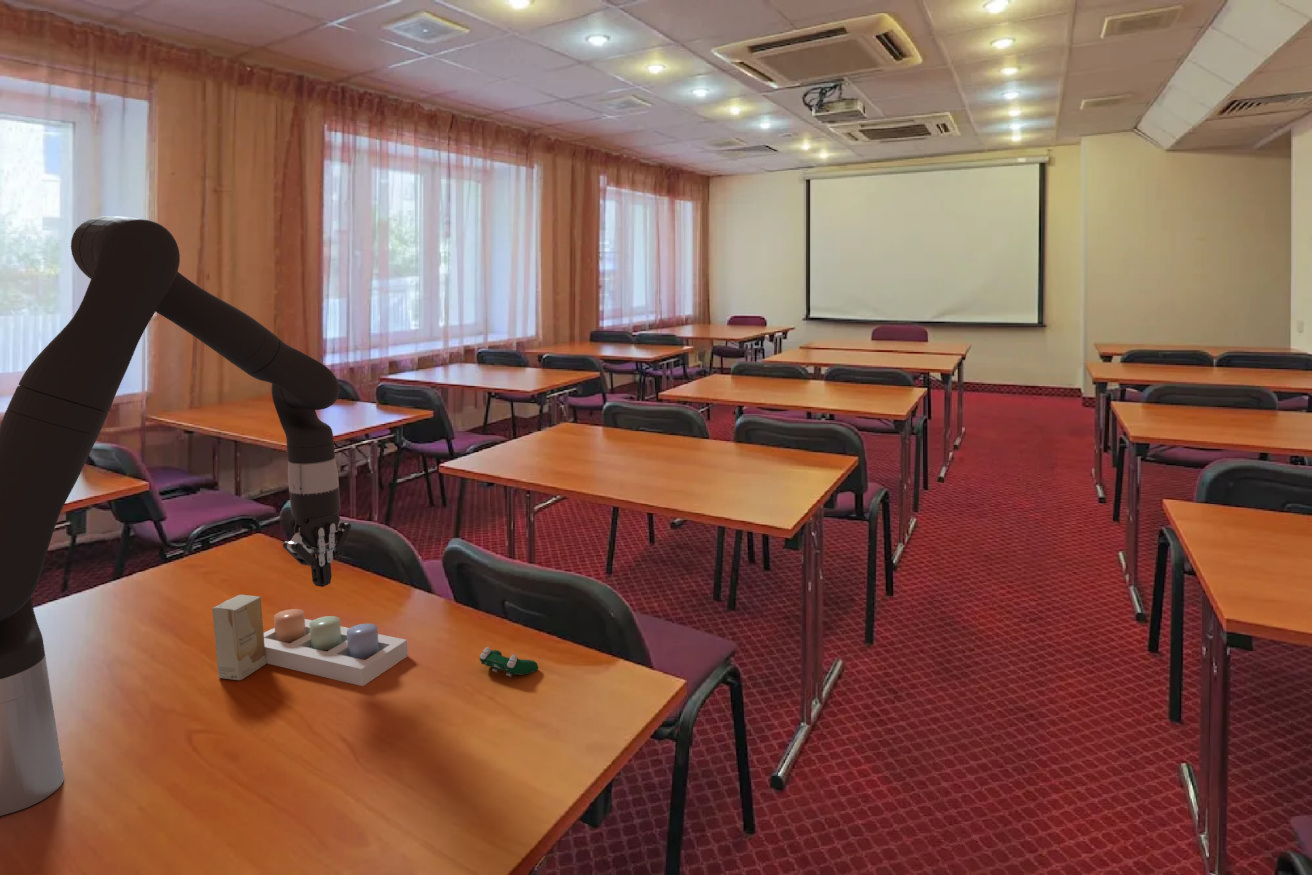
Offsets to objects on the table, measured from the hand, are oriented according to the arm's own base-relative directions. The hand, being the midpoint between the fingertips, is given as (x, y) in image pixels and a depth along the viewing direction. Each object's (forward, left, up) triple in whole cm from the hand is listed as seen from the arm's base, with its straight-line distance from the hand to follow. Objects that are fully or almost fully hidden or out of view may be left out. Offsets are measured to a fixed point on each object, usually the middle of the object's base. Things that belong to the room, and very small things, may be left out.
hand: (322, 584), depth 127 cm
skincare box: (-9, +10, -14) cm, 19 cm away
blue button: (0, -8, -11) cm, 13 cm away
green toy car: (+7, -31, -14) cm, 35 cm away
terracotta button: (0, +8, -11) cm, 13 cm away
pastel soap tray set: (0, 0, -13) cm, 13 cm away
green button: (0, 0, -11) cm, 11 cm away
